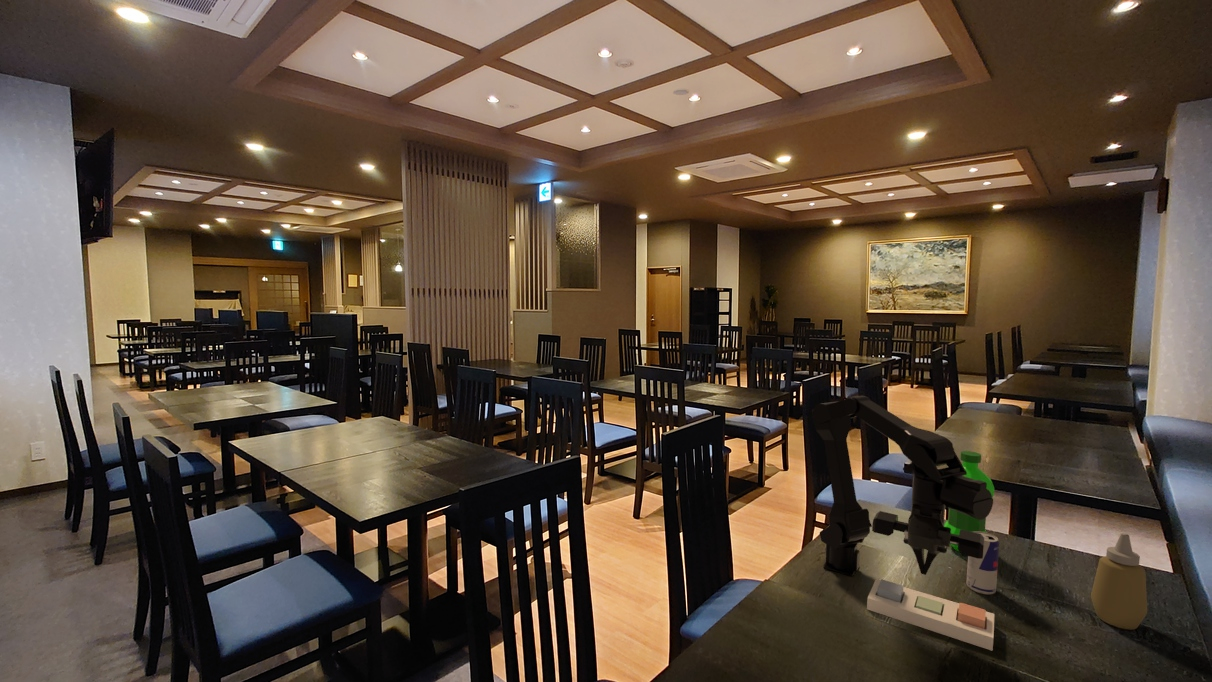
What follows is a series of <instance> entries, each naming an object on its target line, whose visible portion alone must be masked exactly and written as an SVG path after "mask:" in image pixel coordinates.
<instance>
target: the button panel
mask: <svg viewBox="0 0 1212 682" xmlns="http://www.w3.org/2000/svg"><path fill="white" fill-rule="evenodd" d="M880 581H881V579H878V578H876V579H875V580H874V582H873V585H872V587H871V589H870V591H869V593H868V596H867V602H866V610H868V611H871V612H874V613H877V614H880V615H883V616H886V617H889V618H892V619H895V620H898V621H901V622H904V623H906V624H910V625H913V626H916V627H920V628H922V629H925V630H929V631H931V632H934V633H937V634H940V635H943V636H947V637H949V638H952V639H955V640H957V641H958V640H959V641H961V642H963V643H964V642H965V643H968V644H970V645H974V646H977V647H979V648H983V649H986V650H989V651H991V652H992V651H993V650H994V648H993V647H994V633H995V632H994V631H995V613H993V612H988V611H986V614H985V629H982V628H979V627H976V626H973V625H969V624H966V623H963V622H960V621H958V611H959V604H960V602H959V603H958V602H955V601H951V600H949V599H945V598H942V597H938V596H935V595H932V594H930V593H925V592H922V591H918V590H915V589H912V588H908V587H905V586H904V589H903V597H902V600H901V603H899V602H896V601H893V600H890V599H886V598H883V597H880V596H877V590H878V586H879V584H880ZM919 596H922V597H925V598H928V599H932V600H935V601H938V602H942V603H943V607H942V616H941V615H938V614H934V613H931V612H928V611H925V610H922V609H918V608H916V604H917V600H918V597H919Z"/></svg>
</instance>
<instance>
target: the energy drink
mask: <svg viewBox="0 0 1212 682" xmlns="http://www.w3.org/2000/svg"><path fill="white" fill-rule="evenodd" d="M986 532H987V531H986ZM986 532H981V531H974V533H979V534H981V535H982V536H983V537H984V548H983V558H982V559H978V558H974V557H970V556H967V567H966V568H967V570H966V583H965V584H966V585H967V587H968V588H969V589H970V590H971V591H973V592H975V593H978V594H981V595H986V596H987V595H988V596H989V595H993V594H996V591H997V582H998V580H997V579H998V569H999V568H998V567H999V553H1000V541H999V538H998V537H997V535H994V534H991V533H989V532H987V533H986Z"/></svg>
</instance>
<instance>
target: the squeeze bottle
mask: <svg viewBox="0 0 1212 682" xmlns="http://www.w3.org/2000/svg"><path fill="white" fill-rule="evenodd" d="M1131 542H1132V541H1131V538H1130V535H1129V534H1128V533H1124V532H1122V533H1120V534H1119V536H1118V539H1117V541H1116V543H1115V546H1108V547H1107V548H1106V555H1105V556H1101V557H1100V558H1099V560H1098V564H1097V569H1096V573H1095V575H1094V576H1095V577H1094V580H1093V581H1094V582H1093V586H1092V589H1091V593H1090V599H1091V602H1092V604H1093V608H1094V610H1095V613H1096V616H1097V618H1099V619H1100V620H1102V622H1104V623H1107V624H1108V625H1111V626H1112V627H1116V628H1118V629H1122V630H1131V631H1132V630H1136V629H1137V628H1138V627H1139V626H1140V624H1141V623H1142V622H1143V620H1144V619H1145V617H1146V616H1147V613H1148V602H1147V601H1148V599H1147V598H1148V597H1147V596H1148V595H1147V577H1146V574H1147V573H1146V570H1145V569H1144V568H1143V566H1141V565H1140V560H1141V557H1140V555H1139V554H1138V553H1136V552H1135V551H1133V548H1132V543H1131Z"/></svg>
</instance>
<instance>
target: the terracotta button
mask: <svg viewBox="0 0 1212 682" xmlns="http://www.w3.org/2000/svg"><path fill="white" fill-rule="evenodd" d="M986 612H987V611H986V609H983V608H980V607H977V606H974V605H969V604H966V603H964V602H959V611H958V621H960V622H963V623H966V624H969V625H973V626H976V627H979V628H982V629H985V614H986Z"/></svg>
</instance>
